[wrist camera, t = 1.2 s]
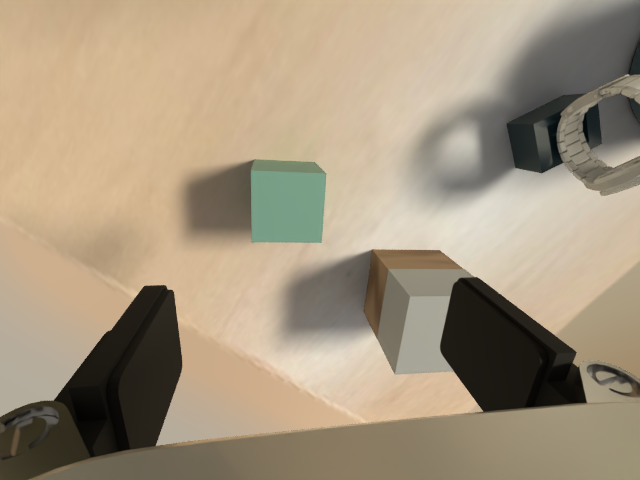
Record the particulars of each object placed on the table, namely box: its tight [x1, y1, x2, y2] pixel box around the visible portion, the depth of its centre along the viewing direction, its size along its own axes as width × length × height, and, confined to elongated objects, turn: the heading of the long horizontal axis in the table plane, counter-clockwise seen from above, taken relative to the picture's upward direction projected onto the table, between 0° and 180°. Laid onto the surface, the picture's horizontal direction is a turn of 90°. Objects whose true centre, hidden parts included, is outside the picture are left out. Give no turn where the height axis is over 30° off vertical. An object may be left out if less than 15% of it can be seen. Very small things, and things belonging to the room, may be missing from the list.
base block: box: [364, 250, 463, 338], centre depth 31 cm, size 7×7×4 cm
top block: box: [377, 269, 474, 375], centre depth 27 cm, size 7×7×4 cm
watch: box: [507, 74, 640, 196], centre depth 24 cm, size 6×8×11 cm
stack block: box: [251, 160, 326, 243], centre depth 25 cm, size 5×5×6 cm
